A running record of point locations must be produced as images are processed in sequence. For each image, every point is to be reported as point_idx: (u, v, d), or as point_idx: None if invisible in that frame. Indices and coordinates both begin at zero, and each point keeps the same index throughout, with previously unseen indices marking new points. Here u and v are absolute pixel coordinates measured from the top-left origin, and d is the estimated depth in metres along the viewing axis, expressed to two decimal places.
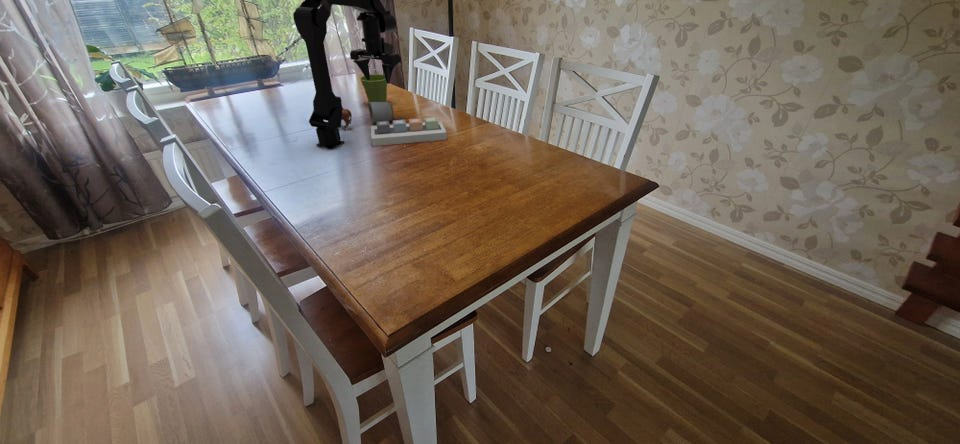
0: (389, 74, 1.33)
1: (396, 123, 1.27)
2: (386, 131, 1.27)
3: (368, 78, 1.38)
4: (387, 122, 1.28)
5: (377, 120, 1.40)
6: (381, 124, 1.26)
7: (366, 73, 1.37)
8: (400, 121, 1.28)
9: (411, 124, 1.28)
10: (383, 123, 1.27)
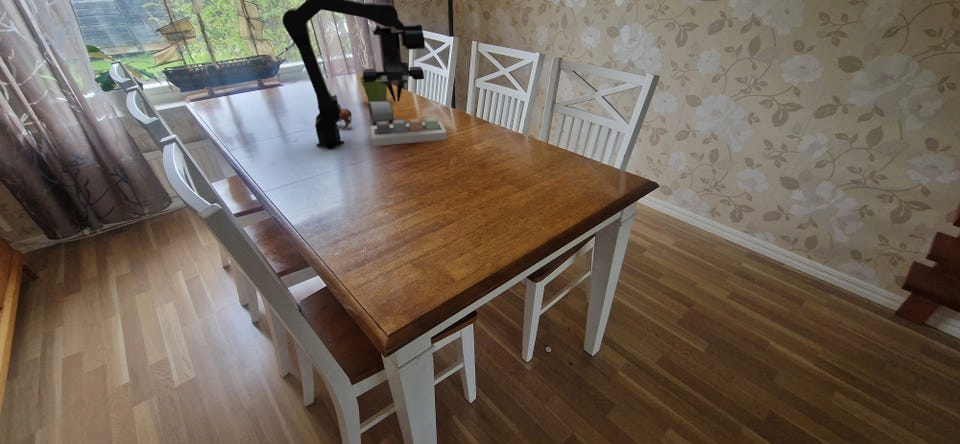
0: (390, 91, 1.22)
1: (396, 123, 1.27)
2: (386, 131, 1.27)
3: None
4: (387, 122, 1.28)
5: (377, 120, 1.41)
6: (381, 124, 1.26)
7: (397, 92, 1.23)
8: (400, 121, 1.28)
9: (411, 124, 1.28)
10: (383, 123, 1.27)
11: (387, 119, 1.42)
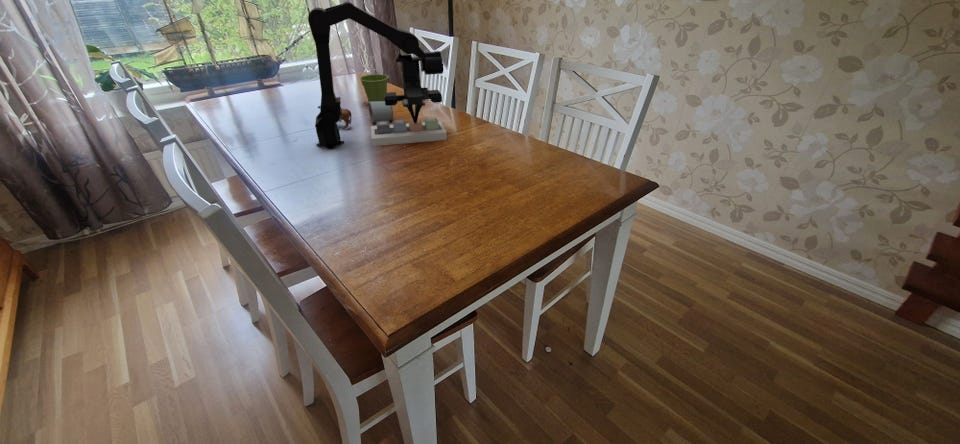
0: (410, 113, 1.28)
1: (396, 123, 1.27)
2: (386, 131, 1.27)
3: None
4: (387, 122, 1.28)
5: (377, 119, 1.41)
6: (381, 124, 1.26)
7: None
8: (400, 121, 1.28)
9: (411, 126, 1.28)
10: (383, 123, 1.27)
11: (387, 119, 1.43)
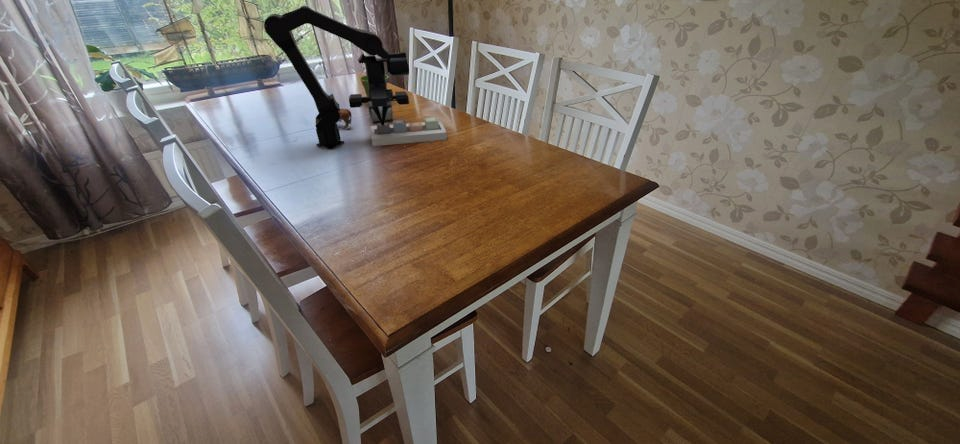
0: (377, 115, 1.25)
1: (396, 123, 1.27)
2: (386, 133, 1.27)
3: None
4: (387, 124, 1.28)
5: (376, 119, 1.41)
6: (381, 126, 1.26)
7: (382, 116, 1.26)
8: (400, 121, 1.28)
9: (411, 128, 1.28)
10: (383, 125, 1.27)
11: (386, 118, 1.43)
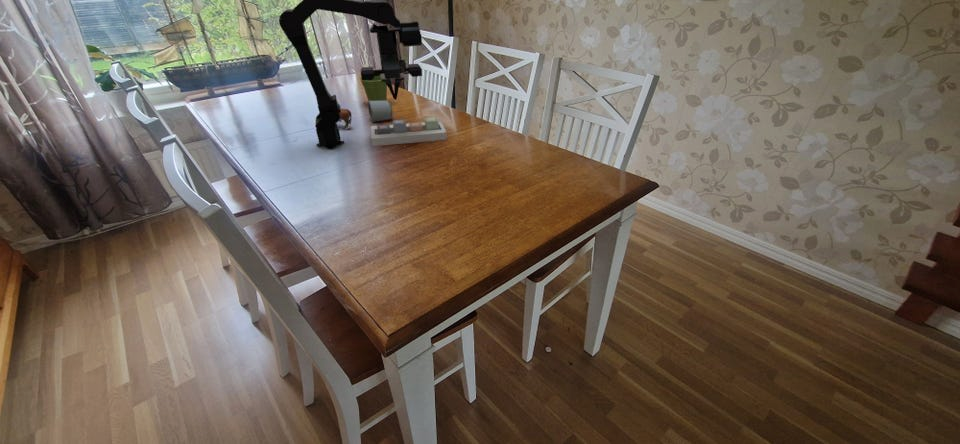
0: None
1: (396, 123, 1.27)
2: None
3: None
4: (388, 126, 1.28)
5: (376, 119, 1.42)
6: (381, 128, 1.27)
7: (394, 90, 1.23)
8: (400, 121, 1.28)
9: (411, 128, 1.28)
10: (384, 127, 1.28)
11: (386, 118, 1.43)
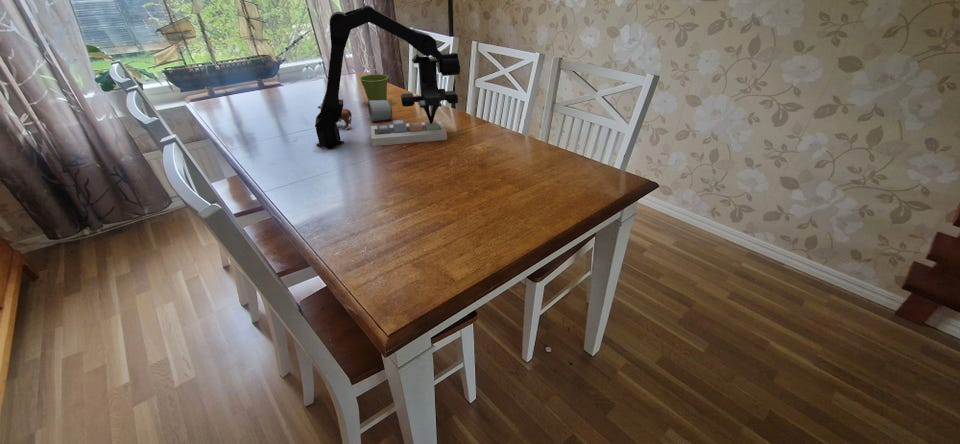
0: None
1: (396, 123, 1.27)
2: None
3: None
4: (388, 126, 1.28)
5: (376, 118, 1.42)
6: (381, 128, 1.27)
7: None
8: (400, 121, 1.28)
9: (411, 128, 1.28)
10: (384, 127, 1.28)
11: (386, 118, 1.44)
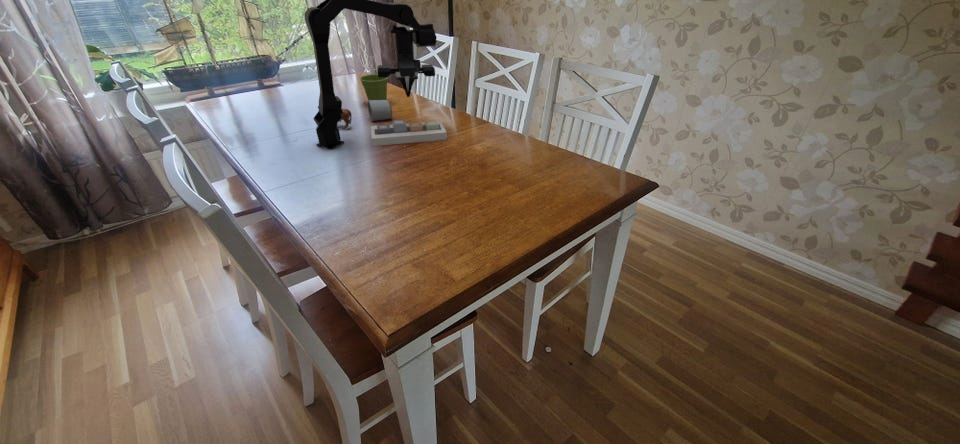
0: None
1: (396, 123, 1.27)
2: None
3: None
4: (388, 126, 1.28)
5: (376, 118, 1.42)
6: (381, 128, 1.27)
7: None
8: (400, 121, 1.28)
9: (411, 128, 1.28)
10: (384, 127, 1.28)
11: (386, 117, 1.44)
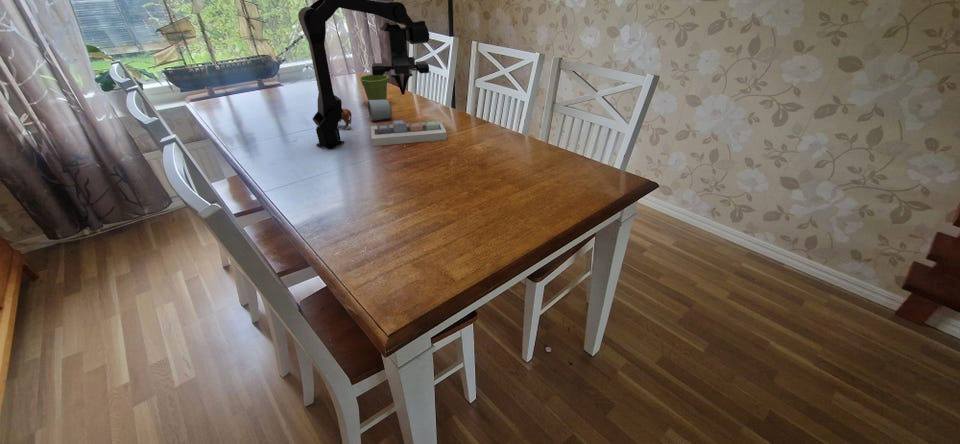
0: (398, 84, 1.29)
1: (396, 123, 1.27)
2: None
3: None
4: (388, 126, 1.28)
5: (376, 118, 1.43)
6: (381, 128, 1.27)
7: (402, 86, 1.30)
8: (400, 121, 1.28)
9: (411, 128, 1.28)
10: (384, 127, 1.28)
11: (386, 117, 1.44)
